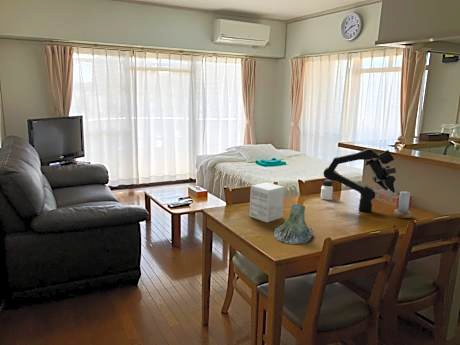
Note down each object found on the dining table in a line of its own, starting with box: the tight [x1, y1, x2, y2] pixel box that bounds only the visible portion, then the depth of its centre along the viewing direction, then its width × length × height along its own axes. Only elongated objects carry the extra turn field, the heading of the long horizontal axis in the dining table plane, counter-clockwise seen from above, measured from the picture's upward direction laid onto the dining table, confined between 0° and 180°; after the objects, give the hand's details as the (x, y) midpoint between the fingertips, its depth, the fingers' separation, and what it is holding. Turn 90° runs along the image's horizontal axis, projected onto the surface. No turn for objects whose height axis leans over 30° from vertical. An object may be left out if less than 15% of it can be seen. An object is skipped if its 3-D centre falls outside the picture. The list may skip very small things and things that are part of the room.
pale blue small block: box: [397, 190, 411, 213], centre depth 209 cm, size 5×5×11 cm
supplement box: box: [248, 182, 285, 223], centre depth 200 cm, size 13×13×18 cm
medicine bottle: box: [320, 179, 334, 201], centre depth 242 cm, size 7×7×12 cm
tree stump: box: [273, 203, 314, 245], centre depth 175 cm, size 18×20×18 cm
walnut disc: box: [393, 208, 413, 219], centre depth 210 cm, size 9×9×3 cm
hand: (390, 191), depth 214 cm, fingers open, 9 cm apart
